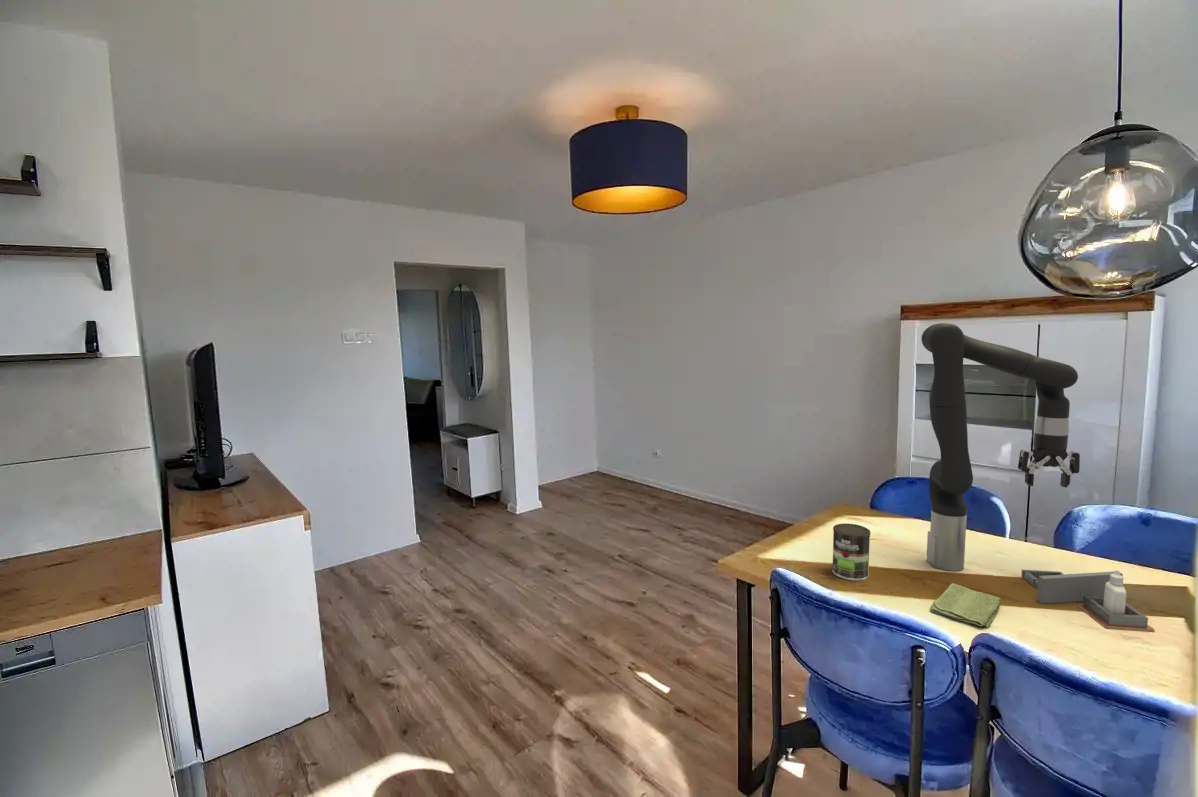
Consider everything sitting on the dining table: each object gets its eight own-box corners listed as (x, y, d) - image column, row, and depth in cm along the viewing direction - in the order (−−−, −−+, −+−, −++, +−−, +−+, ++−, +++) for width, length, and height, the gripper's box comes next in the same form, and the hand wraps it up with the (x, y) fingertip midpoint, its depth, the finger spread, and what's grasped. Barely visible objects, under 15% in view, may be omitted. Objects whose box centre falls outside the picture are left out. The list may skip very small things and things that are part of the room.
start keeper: (1036, 588, 151) (1036, 581, 151) (1021, 575, 159) (1021, 569, 159) (1077, 591, 149) (1077, 584, 149) (1059, 578, 157) (1060, 571, 157)
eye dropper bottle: (1098, 616, 136) (1102, 571, 134) (1104, 608, 139) (1108, 564, 137) (1122, 623, 132) (1127, 577, 131) (1127, 615, 136) (1131, 570, 134)
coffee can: (862, 584, 158) (864, 538, 156) (827, 574, 165) (827, 530, 163) (873, 571, 165) (875, 528, 163) (839, 562, 172) (839, 520, 170)
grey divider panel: (1042, 603, 144) (1044, 578, 143) (1037, 600, 145) (1039, 576, 144) (1120, 598, 145) (1122, 573, 144) (1114, 595, 146) (1116, 571, 145)
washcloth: (927, 613, 142) (928, 602, 141) (949, 590, 153) (949, 579, 153) (987, 633, 132) (988, 621, 131) (1005, 607, 143) (1006, 595, 143)
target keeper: (1105, 628, 131) (1106, 616, 131) (1076, 605, 142) (1077, 594, 142) (1154, 631, 129) (1155, 619, 129) (1121, 608, 140) (1122, 597, 139)
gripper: (1072, 430, 157) (1067, 483, 160) (1016, 429, 161) (1012, 481, 163) (1088, 435, 150) (1083, 491, 152) (1029, 434, 154) (1025, 488, 156)
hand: (1046, 486), depth 158 cm, fingers open, 8 cm apart
